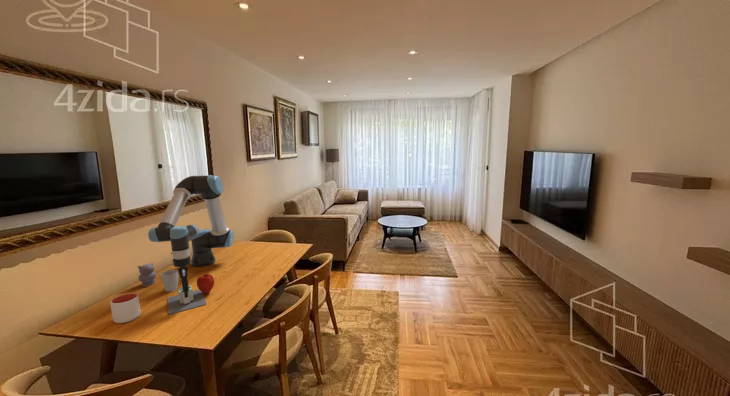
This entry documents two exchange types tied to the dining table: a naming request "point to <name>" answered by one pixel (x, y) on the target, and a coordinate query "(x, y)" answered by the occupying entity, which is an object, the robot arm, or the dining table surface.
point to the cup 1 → (125, 308)
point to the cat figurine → (147, 274)
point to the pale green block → (182, 294)
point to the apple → (205, 283)
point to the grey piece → (176, 307)
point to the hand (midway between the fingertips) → (186, 299)
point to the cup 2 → (170, 280)
